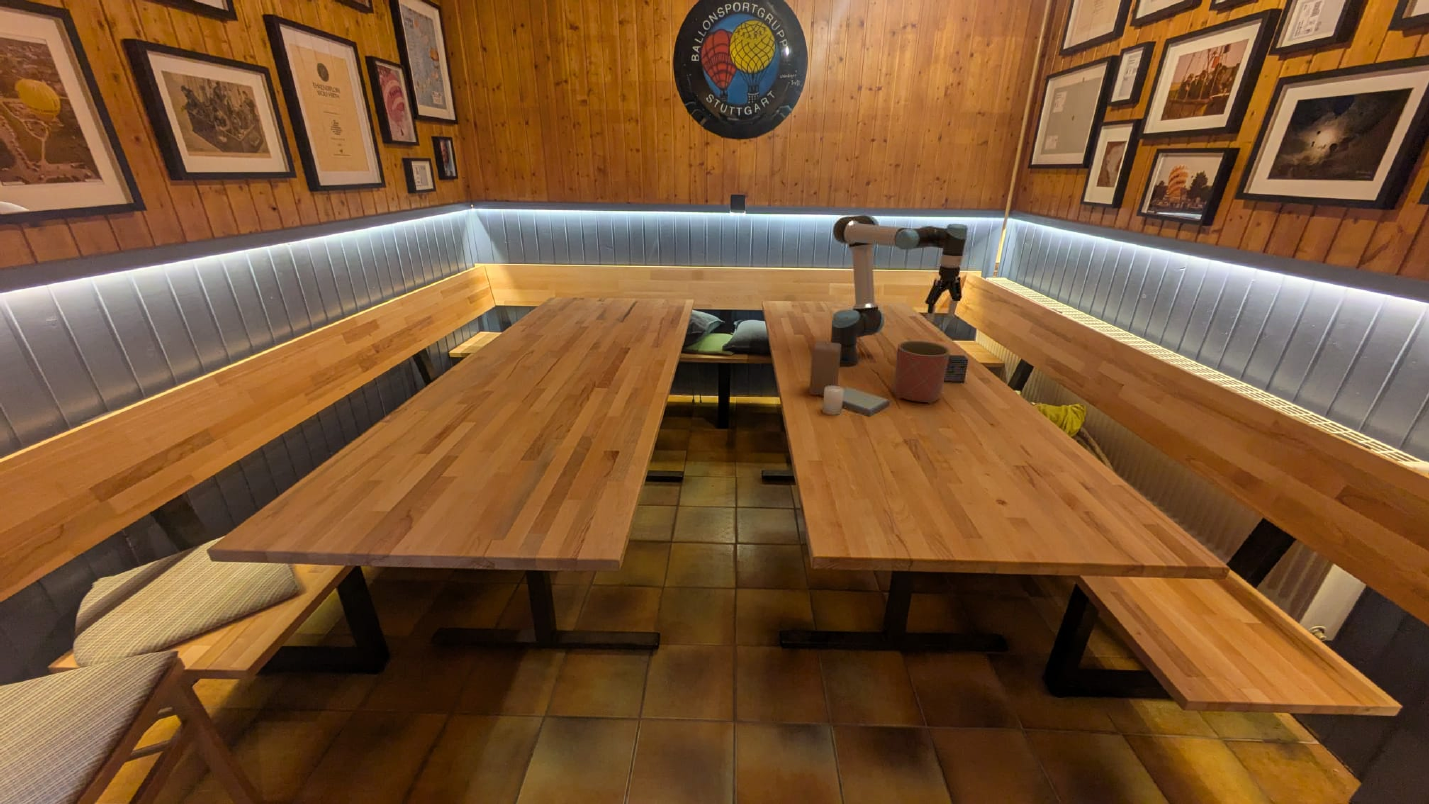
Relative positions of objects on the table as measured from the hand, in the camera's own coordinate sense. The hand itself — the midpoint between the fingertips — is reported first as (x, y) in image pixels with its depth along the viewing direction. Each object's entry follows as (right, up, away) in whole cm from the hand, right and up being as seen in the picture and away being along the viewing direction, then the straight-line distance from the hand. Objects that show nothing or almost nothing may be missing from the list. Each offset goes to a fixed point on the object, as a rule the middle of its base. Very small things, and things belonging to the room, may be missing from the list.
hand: (940, 318), depth 225 cm
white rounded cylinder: (-48, -37, -17) cm, 63 cm away
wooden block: (-48, -30, 0) cm, 56 cm away
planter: (-11, -31, -3) cm, 33 cm away
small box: (+9, -24, +13) cm, 29 cm away
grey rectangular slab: (-36, -34, -11) cm, 51 cm away
